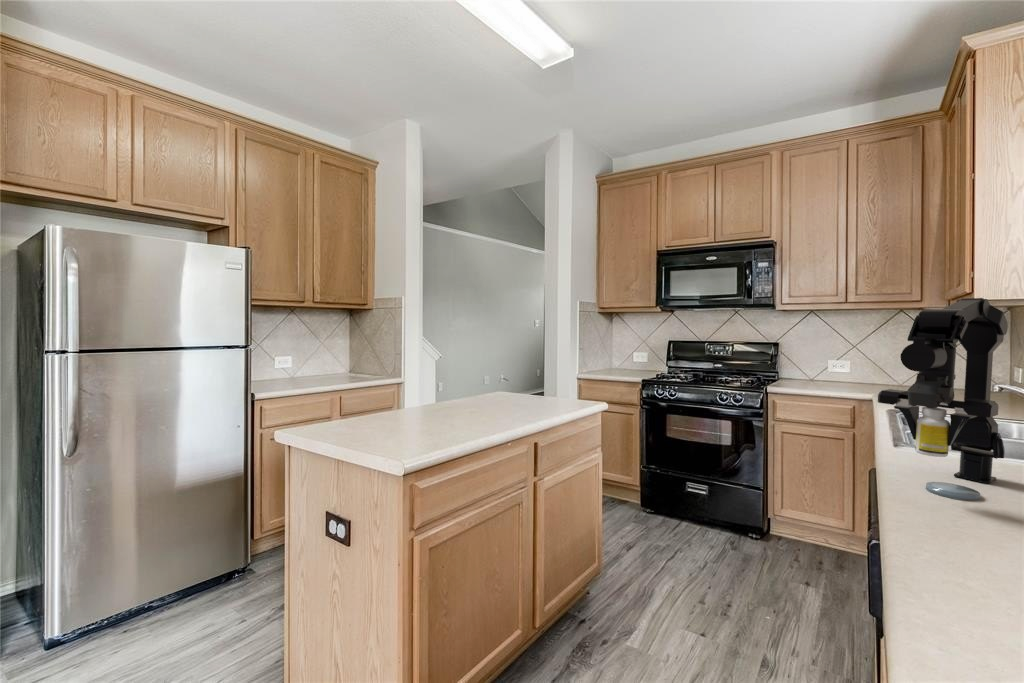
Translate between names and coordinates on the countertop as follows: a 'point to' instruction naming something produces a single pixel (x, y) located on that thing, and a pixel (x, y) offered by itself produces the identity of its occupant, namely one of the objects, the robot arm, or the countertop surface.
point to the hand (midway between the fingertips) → (931, 442)
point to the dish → (953, 491)
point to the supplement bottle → (932, 432)
